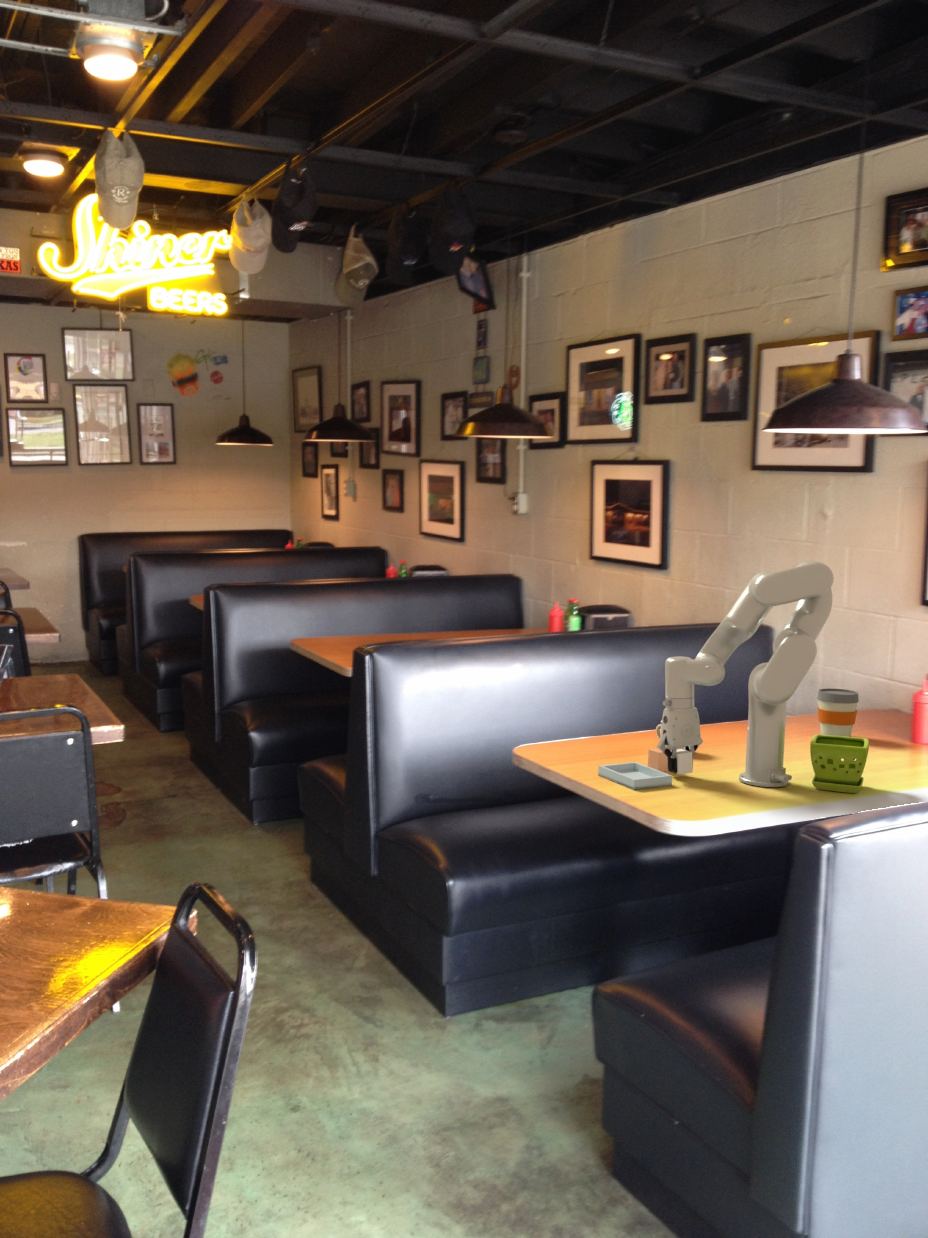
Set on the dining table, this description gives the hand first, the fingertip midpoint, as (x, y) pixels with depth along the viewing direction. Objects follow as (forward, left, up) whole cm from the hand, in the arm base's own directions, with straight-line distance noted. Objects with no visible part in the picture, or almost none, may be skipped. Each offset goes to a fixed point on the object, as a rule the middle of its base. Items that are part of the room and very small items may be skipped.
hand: (680, 770), depth 272 cm
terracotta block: (+9, 0, -2) cm, 9 cm away
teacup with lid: (+27, -18, -2) cm, 32 cm away
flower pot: (-24, -32, -2) cm, 40 cm away
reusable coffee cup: (+23, -81, -2) cm, 84 cm away
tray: (+2, +14, -2) cm, 14 cm away
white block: (0, 0, 0) cm, 0 cm away
